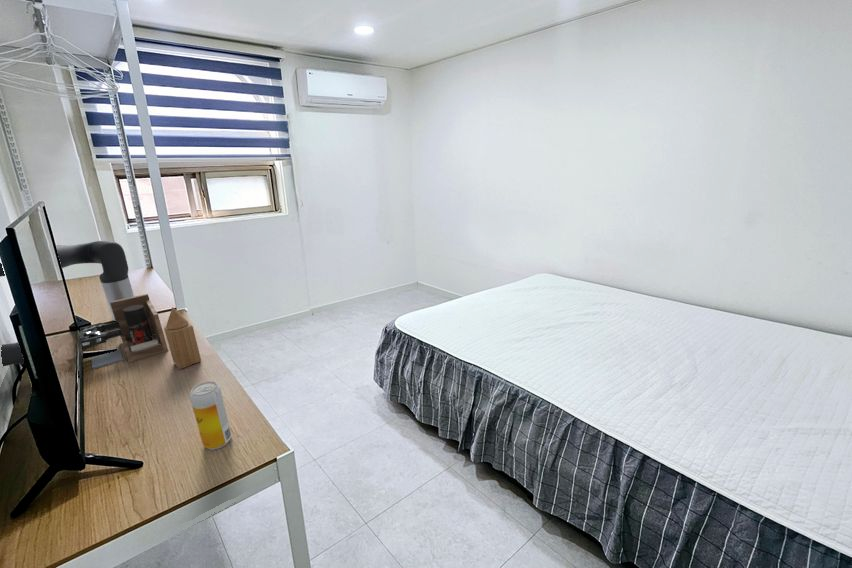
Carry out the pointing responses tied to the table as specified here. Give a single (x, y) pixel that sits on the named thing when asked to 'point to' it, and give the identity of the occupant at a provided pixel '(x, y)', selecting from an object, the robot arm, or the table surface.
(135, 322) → the deodorant
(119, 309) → the box
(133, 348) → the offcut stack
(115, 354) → the mat
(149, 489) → the table surface
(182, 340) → the decorative item
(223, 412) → the beer can
